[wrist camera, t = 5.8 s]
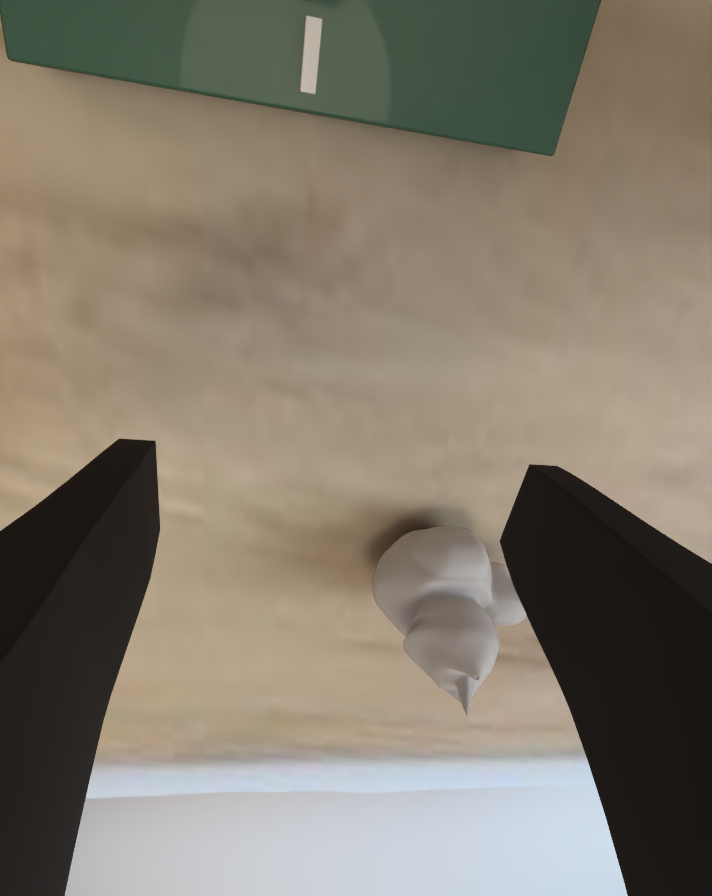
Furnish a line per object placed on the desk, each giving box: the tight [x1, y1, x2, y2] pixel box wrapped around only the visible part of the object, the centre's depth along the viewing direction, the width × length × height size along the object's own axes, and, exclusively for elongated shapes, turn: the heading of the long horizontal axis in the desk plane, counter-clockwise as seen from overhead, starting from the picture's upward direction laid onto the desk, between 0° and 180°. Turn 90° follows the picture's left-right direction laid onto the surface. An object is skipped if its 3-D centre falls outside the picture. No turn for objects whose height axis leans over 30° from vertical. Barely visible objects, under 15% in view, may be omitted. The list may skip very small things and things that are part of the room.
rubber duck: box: [372, 527, 527, 717], centre depth 21 cm, size 5×7×8 cm
